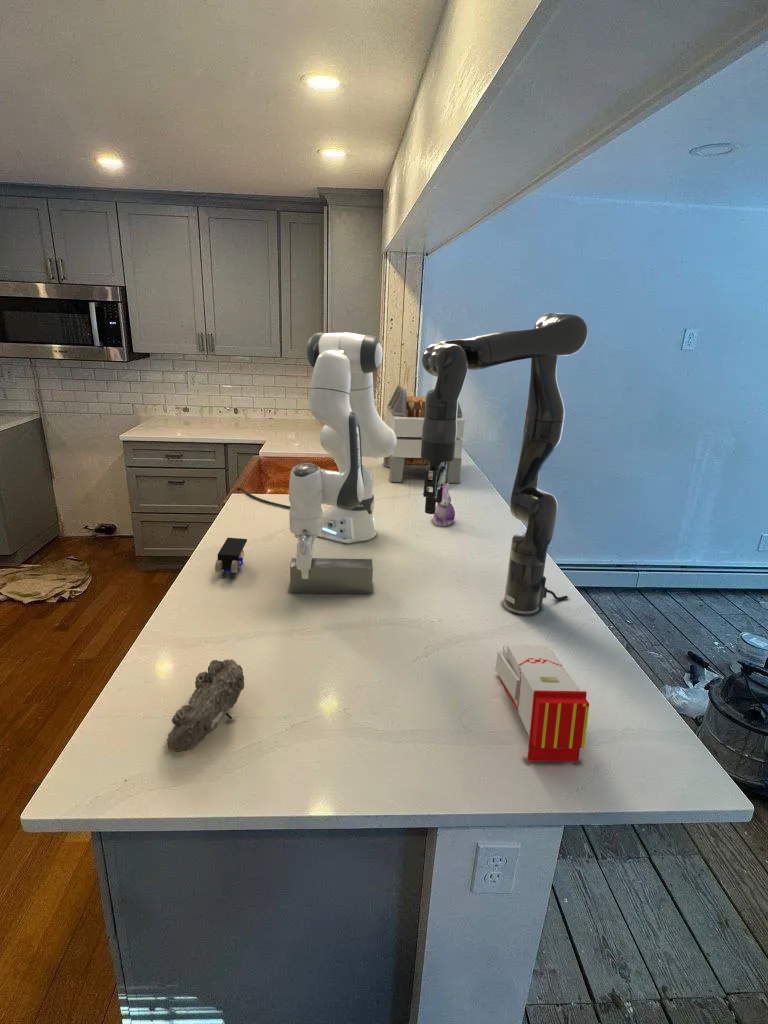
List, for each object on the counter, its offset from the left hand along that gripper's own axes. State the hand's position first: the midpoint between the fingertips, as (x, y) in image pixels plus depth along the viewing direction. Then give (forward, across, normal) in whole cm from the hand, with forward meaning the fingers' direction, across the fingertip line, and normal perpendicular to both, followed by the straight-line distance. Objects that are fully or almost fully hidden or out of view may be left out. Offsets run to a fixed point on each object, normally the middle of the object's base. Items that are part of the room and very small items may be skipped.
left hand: (306, 569), depth 158 cm
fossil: (+4, -54, +14) cm, 56 cm away
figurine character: (+5, +10, +23) cm, 25 cm away
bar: (+5, 0, -7) cm, 9 cm away
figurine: (+6, +53, -47) cm, 71 cm away
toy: (+5, -52, -49) cm, 71 cm away
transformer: (+8, +120, -46) cm, 128 cm away
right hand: (-27, -22, -31) cm, 46 cm away
